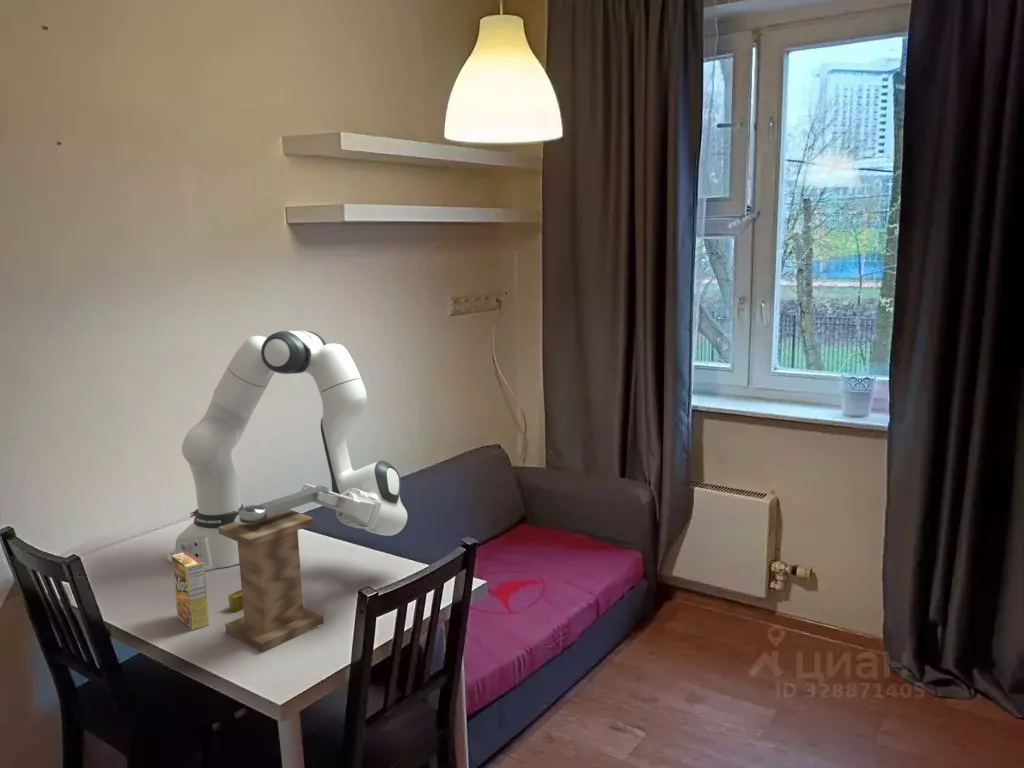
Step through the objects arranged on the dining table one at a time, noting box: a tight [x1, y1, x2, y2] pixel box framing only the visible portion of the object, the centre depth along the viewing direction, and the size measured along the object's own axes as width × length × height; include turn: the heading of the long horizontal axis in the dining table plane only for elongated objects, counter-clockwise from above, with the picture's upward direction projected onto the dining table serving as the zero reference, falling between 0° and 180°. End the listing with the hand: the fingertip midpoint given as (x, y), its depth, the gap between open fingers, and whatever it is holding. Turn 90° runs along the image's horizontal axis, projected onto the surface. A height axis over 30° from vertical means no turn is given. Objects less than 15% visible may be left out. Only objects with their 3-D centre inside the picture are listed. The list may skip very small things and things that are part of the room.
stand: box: [218, 509, 325, 653], centre depth 184 cm, size 16×14×25 cm
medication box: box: [227, 588, 244, 613], centre depth 200 cm, size 12×3×4 cm, turn 144°
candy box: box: [171, 551, 210, 631], centre depth 189 cm, size 9×4×15 cm, turn 43°
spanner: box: [239, 485, 330, 523], centre depth 185 cm, size 22×6×2 cm, turn 140°
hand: (311, 493), depth 190 cm, fingers closed on spanner, 3 cm apart
